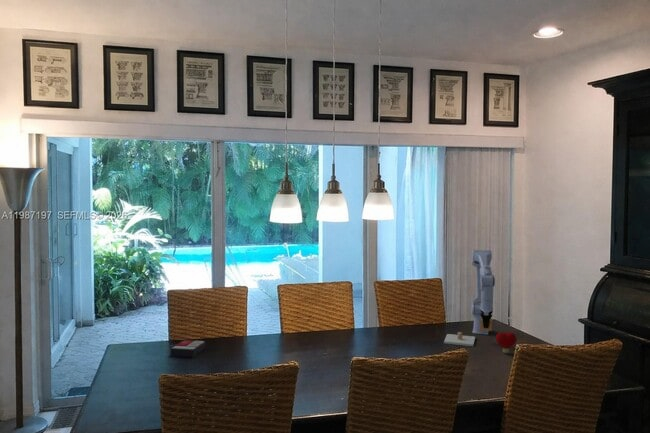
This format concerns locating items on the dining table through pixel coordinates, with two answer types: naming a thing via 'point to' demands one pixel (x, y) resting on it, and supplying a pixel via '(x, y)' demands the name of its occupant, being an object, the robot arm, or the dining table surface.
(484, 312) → the robot arm
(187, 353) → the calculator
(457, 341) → the plate
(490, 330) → the tilted mustard cube
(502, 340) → the dark red rounded lump
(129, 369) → the dining table surface
